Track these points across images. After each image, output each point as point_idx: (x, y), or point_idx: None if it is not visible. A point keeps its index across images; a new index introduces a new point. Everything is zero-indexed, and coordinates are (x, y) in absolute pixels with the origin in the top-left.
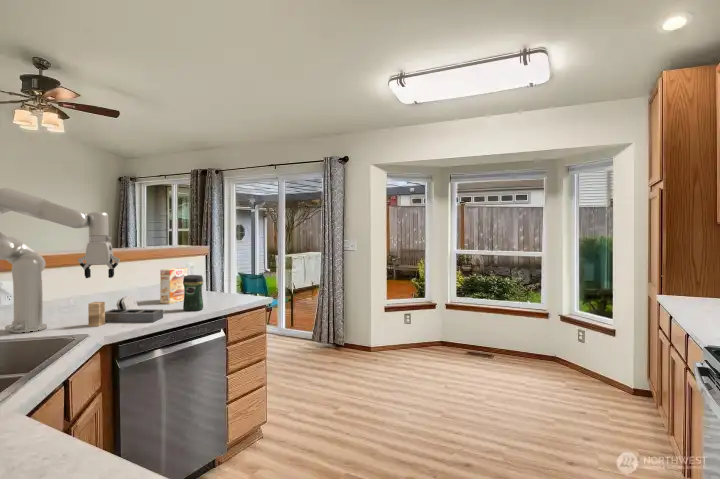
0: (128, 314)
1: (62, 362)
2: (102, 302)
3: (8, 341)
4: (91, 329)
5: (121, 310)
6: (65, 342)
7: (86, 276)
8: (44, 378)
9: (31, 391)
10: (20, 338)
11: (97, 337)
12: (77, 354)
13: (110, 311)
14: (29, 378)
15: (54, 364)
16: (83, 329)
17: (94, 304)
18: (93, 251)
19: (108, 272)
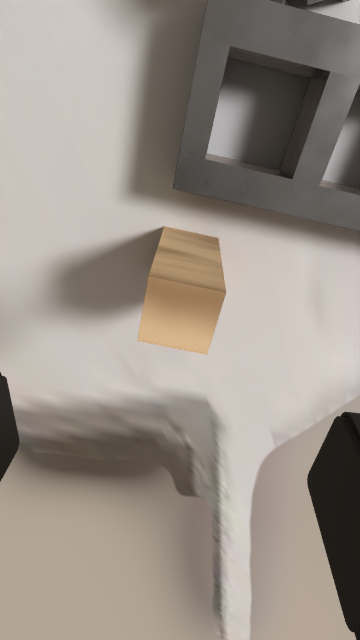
0: (354, 229)
1: (237, 572)
2: (216, 314)
3: None
4: None
5: (294, 63)
6: (178, 470)
7: (2, 465)
8: (239, 611)
9: (242, 633)
10: None
11: (253, 443)
12: (249, 546)
13: (217, 102)
14: (217, 608)
15: (227, 577)
16: None
17: (178, 345)
18: None
19: (330, 563)
